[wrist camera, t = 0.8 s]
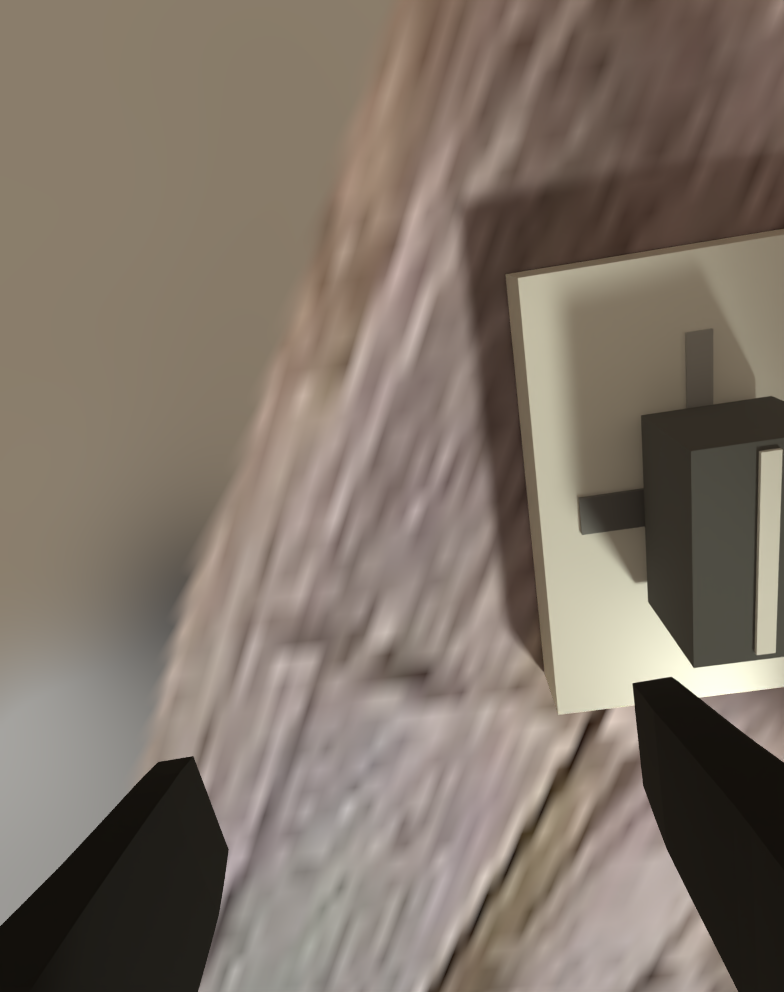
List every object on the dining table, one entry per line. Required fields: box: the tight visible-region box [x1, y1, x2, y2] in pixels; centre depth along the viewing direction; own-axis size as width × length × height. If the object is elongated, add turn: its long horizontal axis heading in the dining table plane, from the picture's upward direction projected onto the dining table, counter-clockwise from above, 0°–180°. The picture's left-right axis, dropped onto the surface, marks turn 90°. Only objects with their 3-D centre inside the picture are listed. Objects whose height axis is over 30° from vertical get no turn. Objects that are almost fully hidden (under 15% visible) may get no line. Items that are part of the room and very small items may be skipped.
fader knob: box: [641, 396, 784, 668], centre depth 16 cm, size 3×5×3 cm, turn 9°
